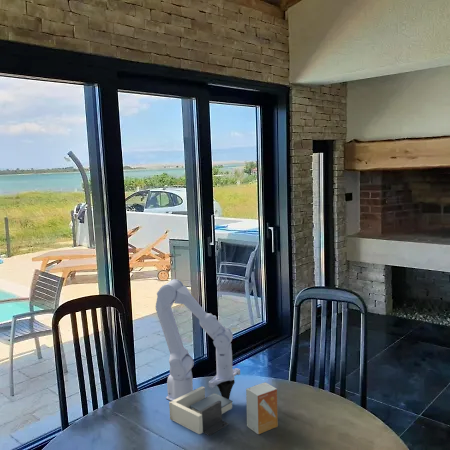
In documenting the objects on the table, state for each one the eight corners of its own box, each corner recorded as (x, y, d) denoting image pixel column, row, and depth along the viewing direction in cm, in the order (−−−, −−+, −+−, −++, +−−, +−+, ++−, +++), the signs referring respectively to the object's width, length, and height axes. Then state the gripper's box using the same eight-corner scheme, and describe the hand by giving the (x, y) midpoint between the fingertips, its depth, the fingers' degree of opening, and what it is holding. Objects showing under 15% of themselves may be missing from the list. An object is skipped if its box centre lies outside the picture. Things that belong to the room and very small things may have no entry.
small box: (258, 435, 146) (257, 395, 144) (246, 426, 151) (245, 388, 150) (278, 426, 150) (277, 388, 149) (266, 418, 155) (265, 381, 154)
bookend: (200, 431, 149) (199, 410, 148) (219, 420, 155) (218, 400, 155) (209, 435, 146) (208, 414, 146) (228, 424, 153) (227, 404, 152)
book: (190, 414, 161) (189, 405, 161) (214, 400, 169) (214, 393, 169) (208, 423, 155) (208, 414, 154) (232, 408, 163) (232, 400, 163)
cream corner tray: (170, 419, 157) (169, 402, 157) (202, 402, 168) (201, 386, 168) (199, 434, 147) (198, 416, 147) (232, 415, 158) (231, 398, 158)
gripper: (218, 373, 157) (219, 411, 159) (246, 359, 168) (247, 395, 169) (203, 367, 162) (205, 404, 164) (231, 355, 173) (232, 389, 174)
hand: (225, 399), depth 167 cm, fingers closed
